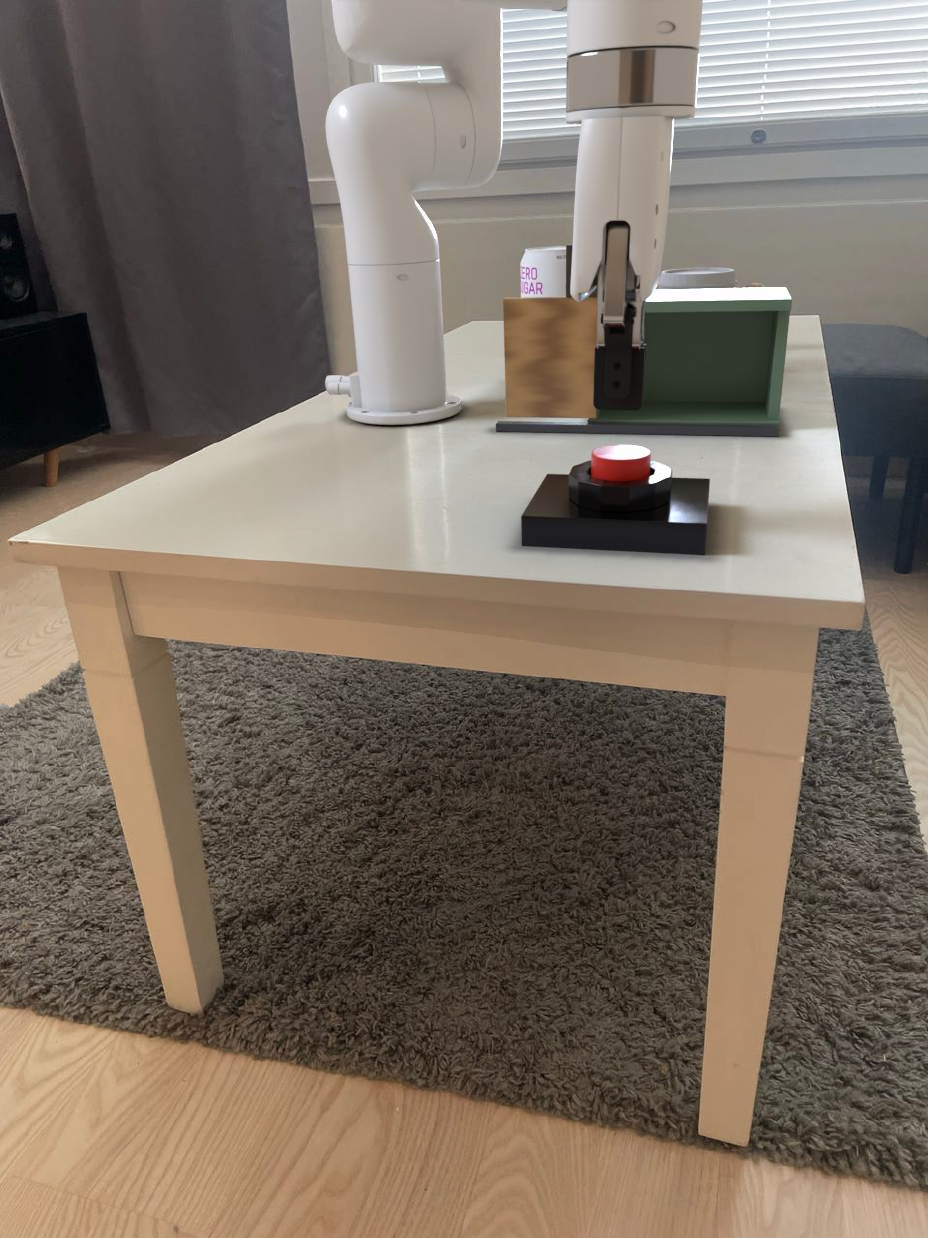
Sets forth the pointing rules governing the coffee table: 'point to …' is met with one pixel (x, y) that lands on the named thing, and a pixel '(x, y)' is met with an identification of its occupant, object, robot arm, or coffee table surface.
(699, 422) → the cabinet
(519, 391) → the sliding door
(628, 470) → the button
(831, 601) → the coffee table surface
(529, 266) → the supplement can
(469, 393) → the coffee table surface
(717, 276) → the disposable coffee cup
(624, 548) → the button box
